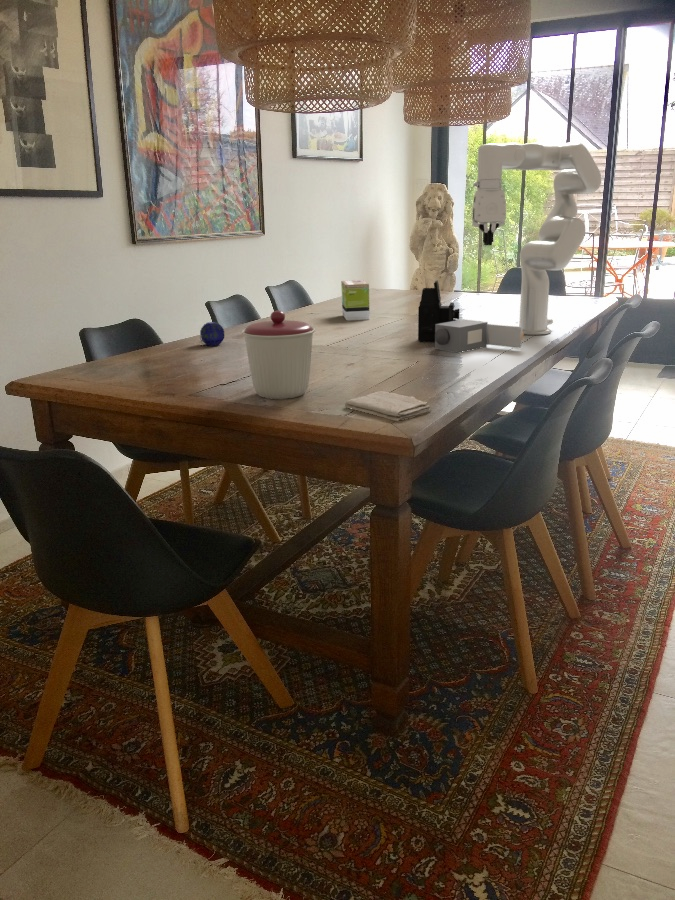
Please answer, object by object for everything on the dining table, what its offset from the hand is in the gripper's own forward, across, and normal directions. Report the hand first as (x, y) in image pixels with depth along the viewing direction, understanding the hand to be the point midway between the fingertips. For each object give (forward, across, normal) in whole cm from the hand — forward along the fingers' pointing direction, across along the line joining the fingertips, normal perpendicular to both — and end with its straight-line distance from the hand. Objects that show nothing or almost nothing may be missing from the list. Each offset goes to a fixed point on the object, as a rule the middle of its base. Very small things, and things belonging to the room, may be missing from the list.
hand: (488, 244), depth 245 cm
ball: (+30, -92, +17) cm, 98 cm away
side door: (+30, +1, -16) cm, 34 cm away
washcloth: (+30, -51, -79) cm, 99 cm away
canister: (+29, -74, -59) cm, 100 cm away
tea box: (+32, -34, +66) cm, 81 cm away
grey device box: (+31, -12, -10) cm, 35 cm away
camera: (+32, -16, +4) cm, 35 cm away
